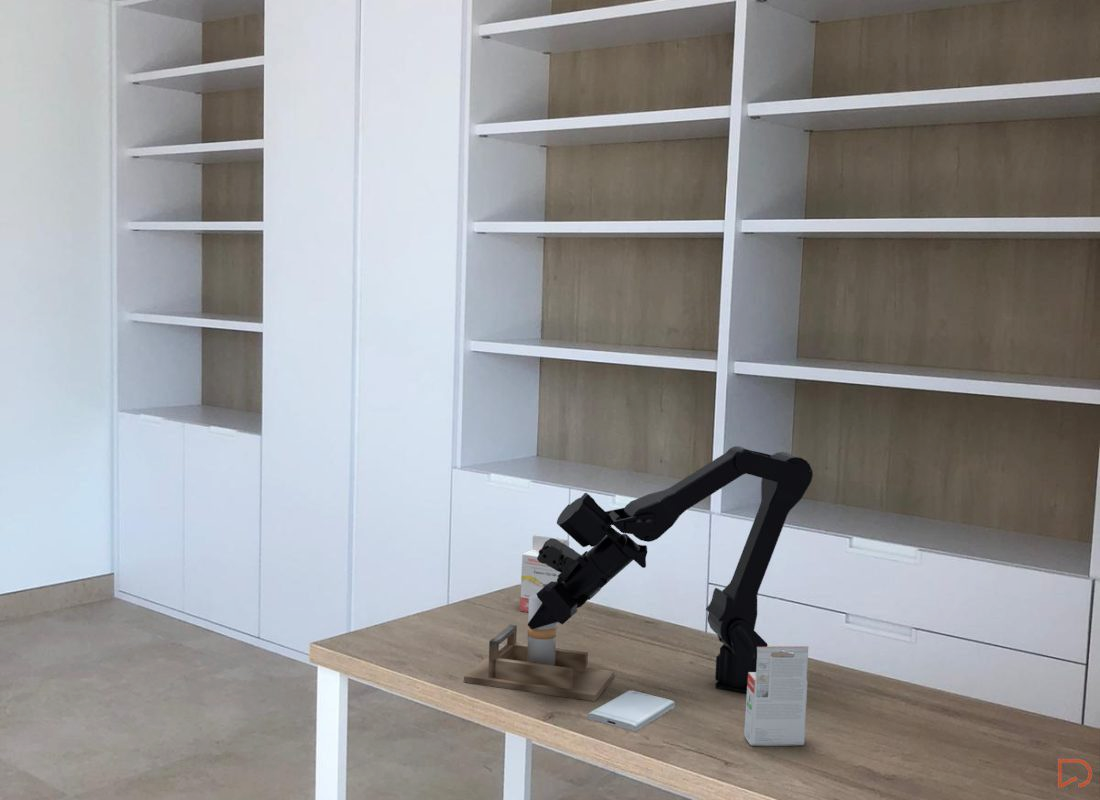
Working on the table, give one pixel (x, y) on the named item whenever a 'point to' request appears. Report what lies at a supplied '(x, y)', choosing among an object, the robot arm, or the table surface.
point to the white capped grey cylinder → (540, 638)
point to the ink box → (777, 698)
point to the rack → (538, 671)
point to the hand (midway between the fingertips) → (534, 622)
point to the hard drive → (632, 710)
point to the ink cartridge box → (536, 571)
